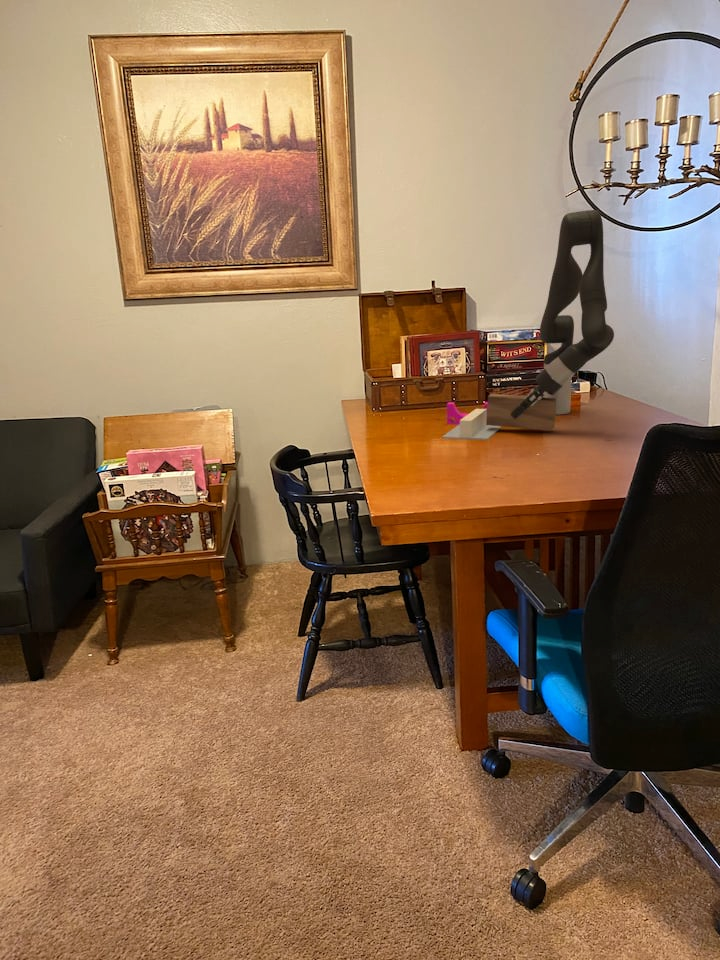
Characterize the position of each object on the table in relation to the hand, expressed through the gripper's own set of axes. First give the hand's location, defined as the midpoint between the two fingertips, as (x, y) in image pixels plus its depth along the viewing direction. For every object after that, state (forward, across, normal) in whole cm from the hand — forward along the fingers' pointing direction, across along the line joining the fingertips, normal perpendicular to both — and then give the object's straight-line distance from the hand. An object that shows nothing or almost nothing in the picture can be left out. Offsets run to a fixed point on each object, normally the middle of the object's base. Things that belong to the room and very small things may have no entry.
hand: (514, 414), depth 212 cm
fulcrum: (+13, +2, -5) cm, 14 cm away
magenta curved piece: (+16, -12, -8) cm, 22 cm away
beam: (+1, 0, +4) cm, 4 cm away
